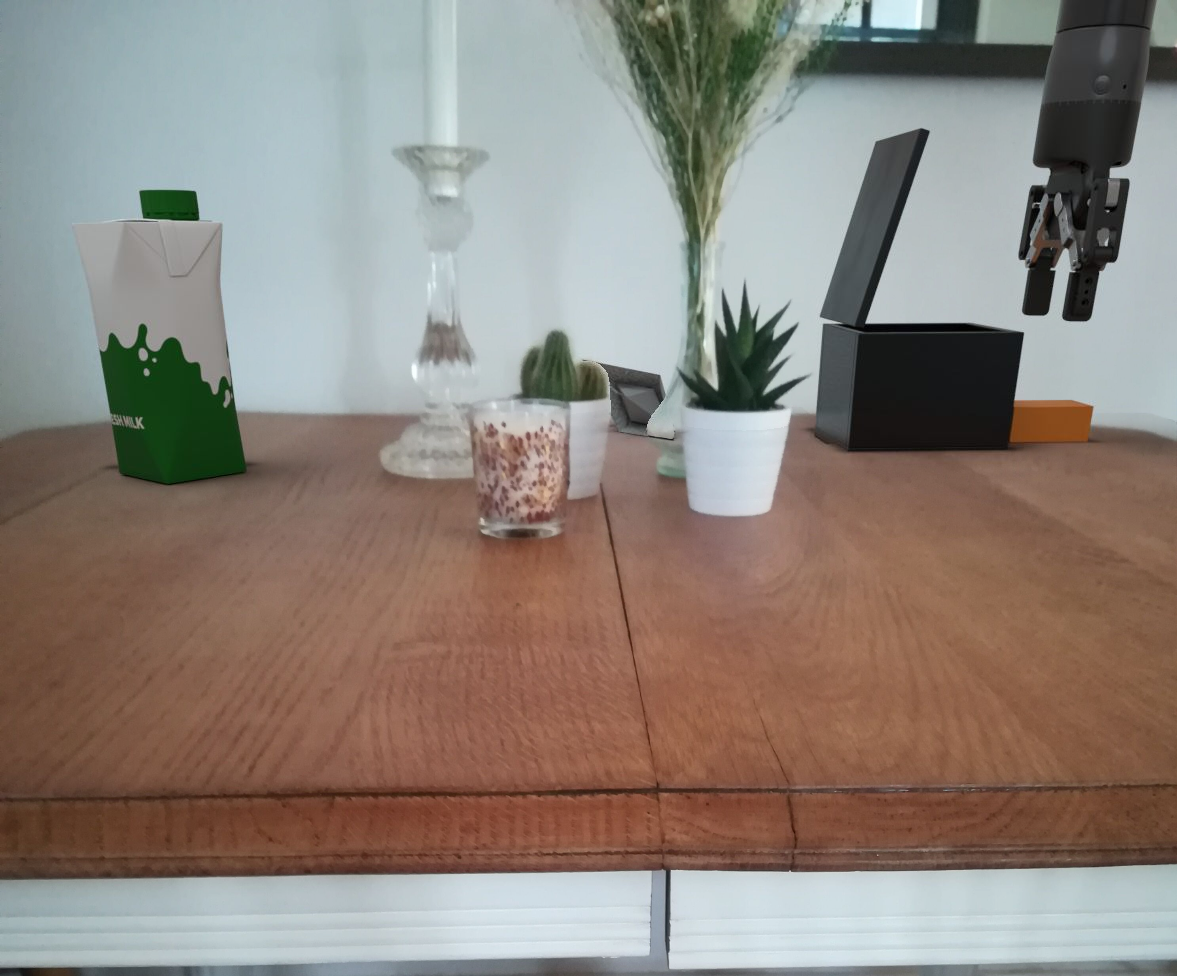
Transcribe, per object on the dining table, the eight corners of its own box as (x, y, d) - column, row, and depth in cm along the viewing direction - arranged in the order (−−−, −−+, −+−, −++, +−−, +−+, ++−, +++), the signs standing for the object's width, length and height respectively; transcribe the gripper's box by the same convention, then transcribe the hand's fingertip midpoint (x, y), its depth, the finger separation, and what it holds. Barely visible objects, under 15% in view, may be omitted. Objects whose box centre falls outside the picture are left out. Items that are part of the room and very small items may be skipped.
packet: (1065, 439, 106) (1072, 399, 105) (1086, 447, 102) (1094, 406, 101) (990, 440, 106) (995, 400, 104) (1008, 448, 102) (1014, 406, 100)
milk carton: (263, 471, 92) (230, 190, 84) (160, 488, 86) (113, 185, 78) (201, 459, 98) (164, 193, 89) (100, 474, 91) (50, 189, 83)
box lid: (884, 143, 99) (875, 141, 99) (930, 130, 87) (920, 127, 87) (827, 319, 105) (819, 317, 104) (863, 328, 93) (854, 326, 93)
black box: (956, 434, 109) (971, 322, 105) (1006, 456, 98) (1024, 332, 94) (814, 435, 109) (822, 323, 105) (847, 458, 97) (858, 333, 93)
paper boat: (716, 418, 111) (687, 402, 102) (675, 474, 113) (643, 462, 105) (625, 344, 113) (590, 322, 105) (587, 399, 116) (549, 382, 107)
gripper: (1182, 90, 86) (1136, 324, 93) (1097, 109, 99) (1062, 314, 106) (1084, 88, 86) (1045, 323, 93) (1011, 108, 99) (981, 313, 106)
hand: (1054, 318), depth 99 cm, fingers open, 8 cm apart
